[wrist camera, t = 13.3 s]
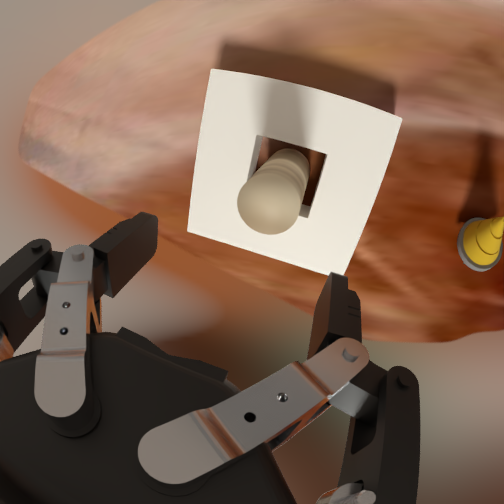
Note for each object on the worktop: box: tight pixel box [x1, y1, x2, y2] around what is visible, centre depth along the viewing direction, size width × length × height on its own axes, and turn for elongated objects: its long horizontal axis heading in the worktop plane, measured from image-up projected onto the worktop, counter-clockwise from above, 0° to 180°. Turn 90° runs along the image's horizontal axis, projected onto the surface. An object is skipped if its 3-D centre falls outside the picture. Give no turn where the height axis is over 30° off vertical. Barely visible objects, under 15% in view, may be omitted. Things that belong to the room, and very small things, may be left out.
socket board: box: [187, 69, 402, 275], centre depth 25 cm, size 16×16×3 cm
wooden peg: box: [237, 148, 310, 235], centre depth 22 cm, size 4×4×10 cm
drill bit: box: [457, 217, 504, 271], centre depth 21 cm, size 5×5×10 cm
